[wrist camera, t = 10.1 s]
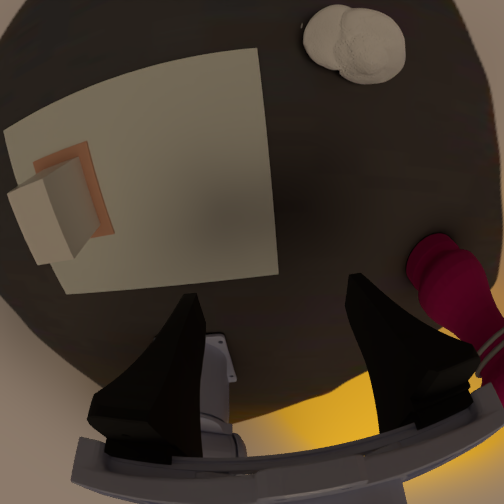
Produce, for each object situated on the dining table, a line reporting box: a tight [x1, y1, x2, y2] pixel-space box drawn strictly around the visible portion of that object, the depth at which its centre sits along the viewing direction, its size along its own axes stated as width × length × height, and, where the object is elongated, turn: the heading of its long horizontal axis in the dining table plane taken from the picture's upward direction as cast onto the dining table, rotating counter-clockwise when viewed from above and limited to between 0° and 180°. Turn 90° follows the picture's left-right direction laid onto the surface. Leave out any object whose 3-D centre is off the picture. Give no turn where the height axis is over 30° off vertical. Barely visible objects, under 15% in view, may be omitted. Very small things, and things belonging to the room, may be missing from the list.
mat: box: [4, 48, 279, 294], centre depth 20 cm, size 18×22×1 cm
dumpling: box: [301, 5, 405, 85], centre depth 13 cm, size 7×5×4 cm
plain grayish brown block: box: [7, 156, 101, 265], centre depth 17 cm, size 4×6×5 cm, turn 7°
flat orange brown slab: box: [33, 141, 115, 238], centre depth 19 cm, size 8×6×1 cm
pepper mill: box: [406, 233, 504, 408], centre depth 16 cm, size 7×7×20 cm
